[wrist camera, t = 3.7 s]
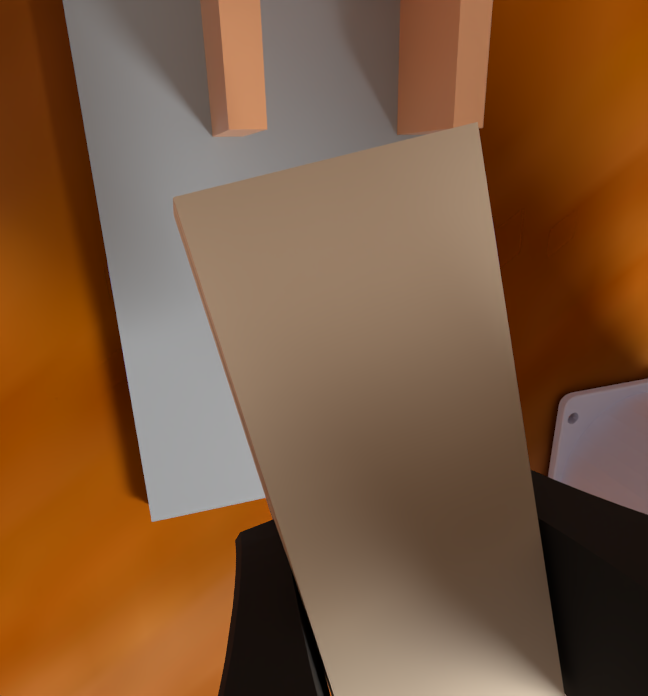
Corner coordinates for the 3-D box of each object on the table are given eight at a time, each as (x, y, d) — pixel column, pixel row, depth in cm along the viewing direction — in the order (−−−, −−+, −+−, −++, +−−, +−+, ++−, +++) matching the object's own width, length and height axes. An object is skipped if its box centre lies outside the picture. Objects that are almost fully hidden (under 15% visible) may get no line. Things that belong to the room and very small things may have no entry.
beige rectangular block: (432, 551, 11) (567, 716, 7) (302, 609, 10) (375, 822, 7) (347, 170, 9) (477, 122, 5) (173, 214, 8) (172, 196, 4)
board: (422, 450, 20) (433, 461, 19) (151, 506, 17) (152, 521, 16) (450, -95, 14) (466, -109, 13) (40, -149, 11) (33, -171, 10)
